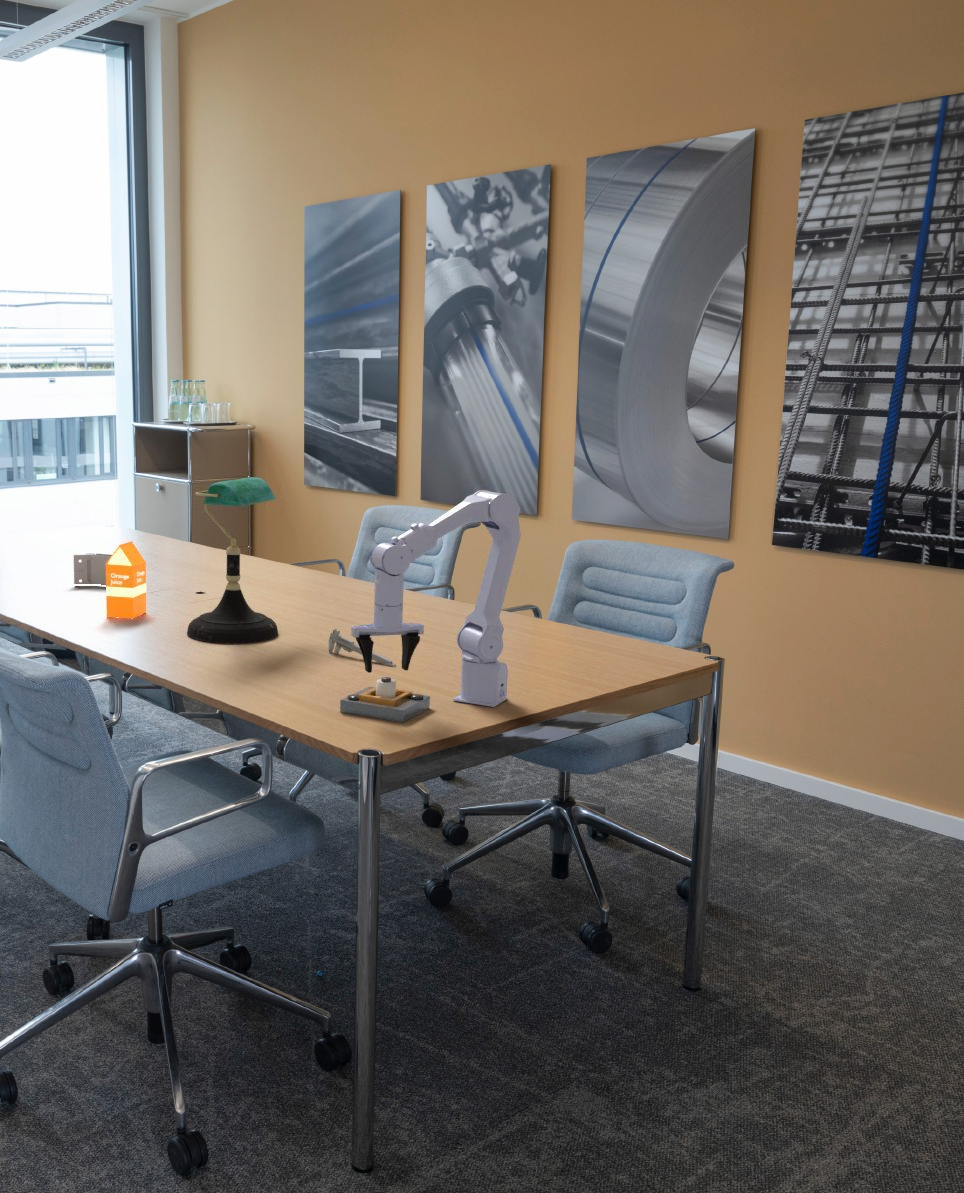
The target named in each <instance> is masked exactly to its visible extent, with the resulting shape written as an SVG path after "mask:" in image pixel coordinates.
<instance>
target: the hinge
mask: <svg viewBox="0 0 964 1193" xmlns="http://www.w3.org/2000/svg"><path fill="white" fill-rule="evenodd" d="M112 555H113V554H109V553H96V554H95V553H93V552H92V553H91V552H89V553H85V554H73V585H74V584H101V585H106V564H107V562H108V561H109V559H110V558H111V556H112ZM80 560H81V561H80ZM80 580H81V581H80Z"/></svg>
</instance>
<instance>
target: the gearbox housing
mask: <svg viewBox="0 0 964 1193" xmlns="http://www.w3.org/2000/svg"><path fill="white" fill-rule="evenodd" d="M430 699H431V696H430V695H424V694H420V693H413V691H411V690H405V689H399V688H396V697H395V698H393V699H390V698H384V697H378V696H376V686H367V687H365V688H363V689H361V690H358V691H357V692H355V693H353V694H348V695H347V696H346V697H344V698H341V699H340V703H339V704H340V706H339V708H340V710H339V713H344V714H350V715H356V716H360V717H361V716H362V717H367V718H373V719H379V720H386V721H390V722H397V723H401V724H403V723H405V722H407V721H409V720H411V719H413V718H414V717H416V716H418V715H419V714H422V713H423V712H425V711H426V710H428V709H430V701H431V700H430Z"/></svg>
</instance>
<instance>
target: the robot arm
mask: <svg viewBox="0 0 964 1193" xmlns="http://www.w3.org/2000/svg"><path fill="white" fill-rule="evenodd" d="M520 513H521V507H520V506H519V504H518V502H517V501H516V499H515V498H514V497H513V496H512V494H511V495H510V494H508V493H500V492H494V491H490V490H487V489H480V490H477V491H475V492H474V493H473V494H470V495H468V496H466V497H465V498H464V499H463V500H462V501H461V502H459V503H458V504H457V505H456V506H454V507H452V508H451V509H449V510H448V511H446V513H443V515H440V517H438V518H437V519H435V520H434V521H432V522H431V523H430V524H426V523H423V522H420V523H412V524H411V525H410V526H409V528H410V529H408V530H407V531H405V532H403V533H402V534H400V535H398V536H396V535H395V536H393V537H391V538H390V542H382V543H379V544H377V546H376V547H374V550H373V551H372V553H371V555H370V556H369V561H370V562H369V563H370V564H371V566H372V568H373V569H374V593H373V596H374V597H373V598H374V599H373V601H374V602H373V603H374V604H373V623H370V624H369V623H368V624H359V625H352V626H351V633H350V634H351V637H353V638H354V639H355V640H356V643H357V645H359V647H360V650H361V652H362V655H361V656H362V658H363V659H362V660H363V662H364V663H363V664H364V670H365V671H366V672H367V673H368V674H369V673H372V672H373V671H372V670H373V660H372V652H373V651H374V650H373V649H374V643H375V642H374V640H372V637H375V636H376V637H379V636H395V635H396V636H398V635H400V636H401V637H400V638H401V649H402V650H401V652H402V653H401V669H403V670H404V671H409V668H410V664H411V660H412V657H413V654H414V652H415V650H416V648H417V647H418V645H419V644H420V642H421V636H420V635H424V633H425V632H424V631H425V625H424V624H423V623H421V622H420V623H417V622H416V623H415V622H414V623H413V622H412V623H411V622H403V620H404V618H403V617H404V616H403V614H404V609H403V608H404V581H405V580H404V575H405V573H406V572H407V570H408V569H409V567H410V565H411V563H412V562H415V561H416V560H417V559H419V558H421V557H422V556H424V555H425V554H427V553H428V552H430V551H432V550H433V549H435V548H436V546H437V543H438V540H439V539H440V538H442V537H444V536H446V535H448V534H450V533H451V532H453V531H455V530H457V529H458V528H460V527H463V526H464V525H466V524H467V523H470V522H479V523H481V524H482V525H483V526H485V528H486V529H487V531H488V533H489V534H490V536H491V538H492V541H491V546H490V549H489V553H488V555H487V556H488V557H487V561H486V564H485V569H484V570H483V571H484V572H483V576H482V579H481V584H480V587H479V591H478V595H477V598H476V603H475V606H474V609H473V611H472V612H470V614H468V615H467V616H466V617H465V620H464V623H463V626H461V628H460V629H459V630H458V633H457V635H456V643H457V646H458V648H459V649H460V650H461V672H460V673H461V675H460V694H458V695H457V696H455V697H453V698H452V701H454V702H460V703H464V704H466V703H467V704H473V705H478V706H486V707H489V708H490V707H491V708H494V707H496V706H498V705H500V704H501V703H503V702H505V701H506V700H507V699H509V698H508V695H507V694H508V693H507V692H508V674H509V673H508V672H509V670H508V665H507V663H505V662H504V661H503V662H502V661H500V660H498V658H499V657H500V656H501V654H502V652H503V650H504V649H503V648H504V641H503V640H504V639H503V633H504V630H505V629H504V625H503V623H502V620H501V619H500V616H501V612H502V608H503V604H504V600H505V597H506V593H507V590H508V586H509V582H510V577H511V575H512V570H513V566H514V564H515V559H516V555H517V552H518V547H519V544H520V540H521V536H522V535H521V534H522V533H521V527H520V520H519V517H520Z"/></svg>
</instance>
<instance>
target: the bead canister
mask: <svg viewBox="0 0 964 1193" xmlns="http://www.w3.org/2000/svg"><path fill="white" fill-rule="evenodd" d="M375 687H376V696H378V697H384V698H390V699H393V698H395V697H396V689H397V681H396V680H395V679H393V678H391V677H388V676H383V677H381V678H378V679H376V681H375Z"/></svg>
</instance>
